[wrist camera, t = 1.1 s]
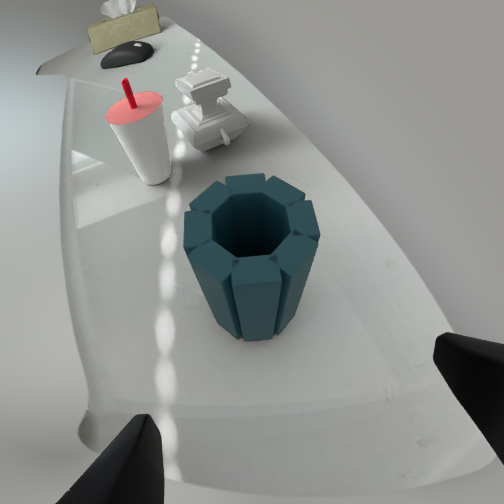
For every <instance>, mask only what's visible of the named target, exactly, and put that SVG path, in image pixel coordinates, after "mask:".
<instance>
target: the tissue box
mask: <svg viewBox="0 0 504 504" xmlns="http://www.w3.org/2000/svg"><path fill="white" fill-rule="evenodd" d="M135 2H136V0H110V1H109V2H105V3H104V4H103V5H102V8H101V9H100V12H101V13H102V14H104V15H108V16H110V17H107V18H105V19H102V20H99V21H97V22H94V23H92V24H91V25H90V27H89V29H88V35H89V39H90V42H91V44H92V47H93V51H94V54H98V53H100V52H103V51H105V50H108V49H111V48H113V47H116V46H119V45H120V44H123V43H126V42H131V41H134V40H137V39H140V38H143V37H147V36H150V35H154V34H157V33H160V32H161V30H160V24H159V16H158V12H157V8H156V6H155V5H154V4H148V5H145V6H141V7H138V8H134V7H135Z"/></svg>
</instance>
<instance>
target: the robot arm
mask: <svg viewBox="0 0 504 504" xmlns="http://www.w3.org/2000/svg"><path fill="white" fill-rule="evenodd" d="M433 360H434V363H435V365H436V366H437V368H438V370H439V371H440V373H441V374H442V376H443V378H444V379H445V381H446V383H447V384H448V386H449V388H450V389H451V391H452V392H453V394H454V395H455V397H456V398H457V400H458V401H459V402H460V404H461V405H462V406H463V408H464V409H465V410H466V412H467V413H468V414H469V416H470V417H471V419H472V420H473V421H474V423H475V424H476V425H477V427H478V428H479V430H480V431H481V432H482V434H483V435H484V437H485V438H486V440H487V441H488V443H489V444H490V445H491V447H492V448H493V450H494V451H495V453H496V454H497V456H498V457H499V459H500V460H501V462H502V463H503V465H504V344H500V343H496V342H490V341H486V340H481V339H476V338H472V337H467V336H462V335H458V334H454V333H449V332H446V333H444V334H441V335H439V336H438V337H437V338H436V342H435V348H434V353H433ZM56 504H164V467H163V454H162V439H161V434H160V431H159V429H158V428H157V426H156V424H155V422H154V421H153V419H152V417H151V416H150V415H149V414H138V415H135V416H134V417H133V418H132V419H131V421H130V422H129V423H128V424H127V425H126V426H125V427H124V429H123V430H122V431H121V432H120V433H119V434H118V435H117V436H116V438H115V439H114V440H113V441H112V442H111V443H110V444H109V446H108V447H107V448H106V449H105V450H104V451H103V452H102V453H101V455H100V456H99V457H98V458H97V459H96V460H95V461H94V462H93V463H92V465H91V466H90V467H89V468H88V469H87V470H86V471H85V472H84V474H83V475H82V476H81V477H80V478H79V479H78V480H77V481H76V482H75V483H74V485H73V486H72V487H71V488H70V490H69V491H67V492H66V493H65V494H64V495H63V497H62V498H61V499H60V500H59V501H58V502H57V503H56Z"/></svg>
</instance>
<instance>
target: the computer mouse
mask: <svg viewBox="0 0 504 504" xmlns="http://www.w3.org/2000/svg"><path fill="white" fill-rule="evenodd" d="M152 51H153V47H152V46H151V45H150V44H148V43H145V42H140V41H131V42H126V43H123V44H120V45H119V46H117V47H115V48H114V49H112V50H111V51H110V52H109V53H108V54H107V55H106V56H105V57H104V58H103V59H102V61H101V67H102V68H103V69H106V68H113V67H118V66H123V65H128V64H133V63H137V62H141V61H143V60H145V59H146V58H147V57H148V56H149V55H150V54H151V53H152Z"/></svg>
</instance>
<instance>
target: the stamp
mask: <svg viewBox="0 0 504 504" xmlns="http://www.w3.org/2000/svg"><path fill="white" fill-rule="evenodd" d="M175 83H176V86H177V89H178V90H180V91H181V92H182V93H184V94H185V95H186V96H187V97H188V98H190V99H191V100H192V101H193V102H194V103H193V104H191V105H188V106H185V107H183V108H180V109H178V110H175V111H174V112H173V113H172V116H171V117H172V121H173V122H174V124H175V125H176V126H177V127H178V128H179V130H180V131H181V132H182V133H183V134H184V136H185V137H186V138H187V139H188V140H189V142H190V143H191V144H192V145H193V147H194V148H196V149H198V150H200V151H201V152H204V151H207V150H209V149H211V148H214V147H216V146H218V145H221V144H225V145H229V144H230V140H233V139H235V138H237V136H238V135H239V134H240V133H241V132H243V131H244V130H245V129H246V128H247V127H248V126H249V122H248V119H247V118H246V116H244V115H243V114H242V113H241V112H240V111H238V110H237V109H236V108H235V107H234V106H232V105H231V104H230V103H229V102H227V101H226V100H225V99H224V98H222V96H225V95H226V94H227V93H228V91H227V89H228V88H230V87H231V84H230V80H229V78H228V77H226V76H224V75H222V74H221V73H219V72H217V71H215V70H213V69H211V68H209V67H208V68H205V69H203V70H200V71H197V72H194V73H191V74H188V75H186V76H183V77H181V78H178V79H175Z"/></svg>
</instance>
